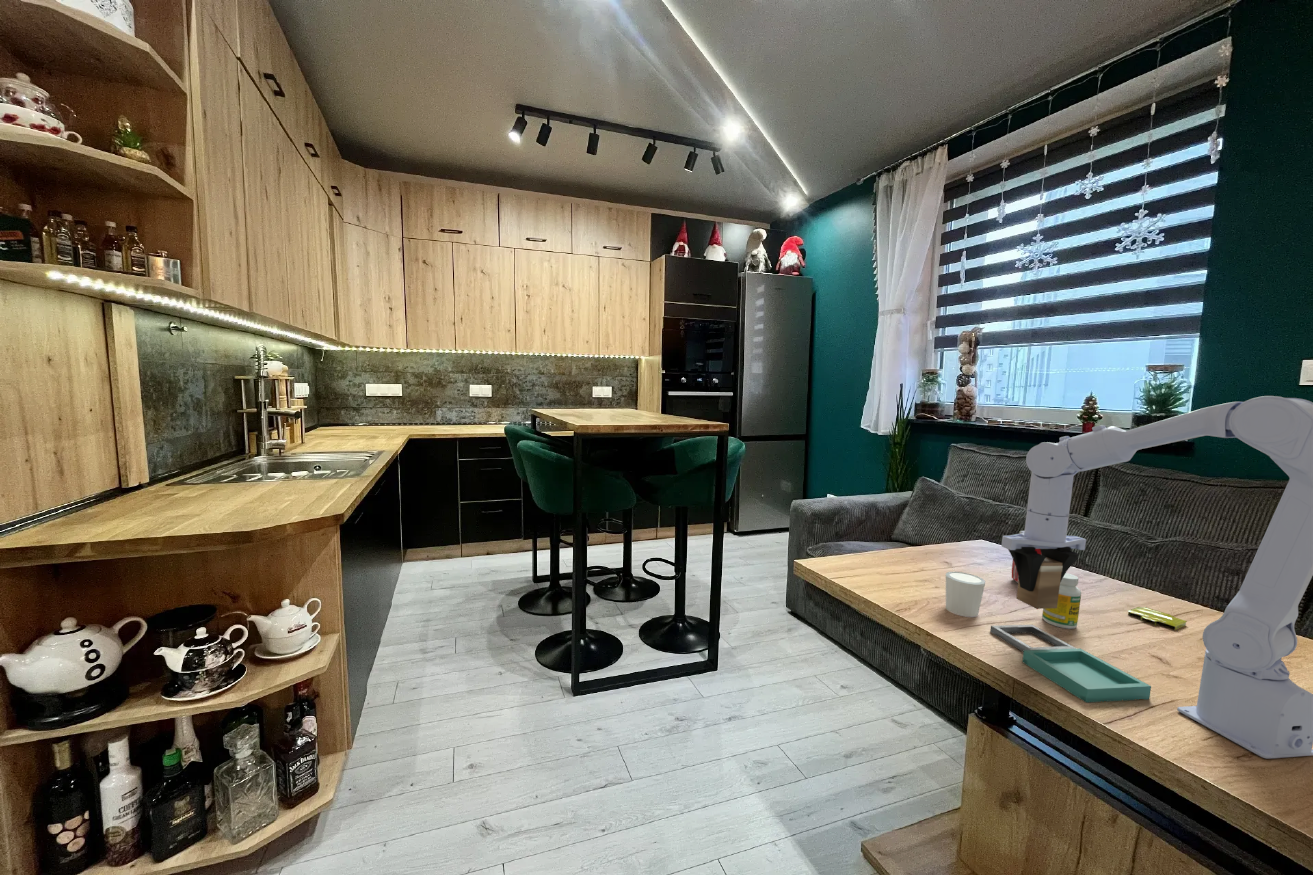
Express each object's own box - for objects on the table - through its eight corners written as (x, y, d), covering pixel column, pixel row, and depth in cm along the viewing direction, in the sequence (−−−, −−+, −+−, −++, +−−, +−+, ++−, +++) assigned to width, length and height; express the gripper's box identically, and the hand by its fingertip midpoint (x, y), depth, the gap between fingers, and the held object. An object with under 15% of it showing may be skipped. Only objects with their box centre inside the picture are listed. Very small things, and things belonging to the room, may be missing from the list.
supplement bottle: (1048, 614, 101) (1054, 568, 100) (1081, 625, 97) (1087, 577, 96) (1037, 620, 98) (1042, 572, 97) (1070, 632, 94) (1077, 582, 93)
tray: (1149, 699, 73) (1151, 686, 73) (1086, 702, 72) (1087, 689, 71) (1078, 659, 84) (1080, 648, 83) (1022, 661, 82) (1023, 650, 82)
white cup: (990, 616, 99) (993, 581, 99) (965, 620, 97) (969, 585, 96) (957, 601, 106) (961, 569, 105) (934, 605, 103) (937, 572, 102)
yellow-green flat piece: (1198, 631, 98) (1201, 617, 98) (1179, 640, 94) (1182, 625, 94) (1132, 610, 107) (1134, 597, 107) (1112, 617, 103) (1114, 604, 103)
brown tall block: (1057, 608, 86) (1063, 563, 86) (1036, 608, 86) (1041, 563, 85) (1036, 598, 90) (1041, 555, 90) (1015, 598, 90) (1021, 555, 89)
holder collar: (1075, 655, 85) (1076, 648, 85) (1031, 656, 84) (1031, 649, 84) (1031, 630, 94) (1032, 624, 93) (990, 631, 92) (990, 625, 92)
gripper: (1062, 507, 91) (1053, 579, 93) (991, 506, 89) (982, 580, 91) (1101, 517, 84) (1091, 595, 86) (1025, 516, 82) (1015, 596, 84)
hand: (1038, 588), depth 88 cm, fingers closed on brown tall block, 4 cm apart
